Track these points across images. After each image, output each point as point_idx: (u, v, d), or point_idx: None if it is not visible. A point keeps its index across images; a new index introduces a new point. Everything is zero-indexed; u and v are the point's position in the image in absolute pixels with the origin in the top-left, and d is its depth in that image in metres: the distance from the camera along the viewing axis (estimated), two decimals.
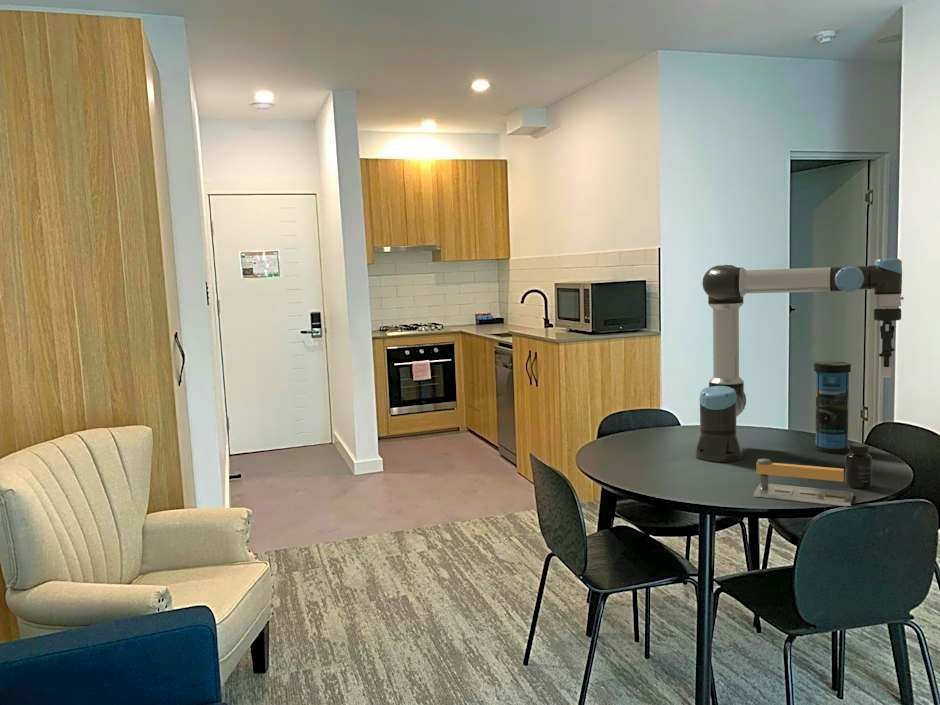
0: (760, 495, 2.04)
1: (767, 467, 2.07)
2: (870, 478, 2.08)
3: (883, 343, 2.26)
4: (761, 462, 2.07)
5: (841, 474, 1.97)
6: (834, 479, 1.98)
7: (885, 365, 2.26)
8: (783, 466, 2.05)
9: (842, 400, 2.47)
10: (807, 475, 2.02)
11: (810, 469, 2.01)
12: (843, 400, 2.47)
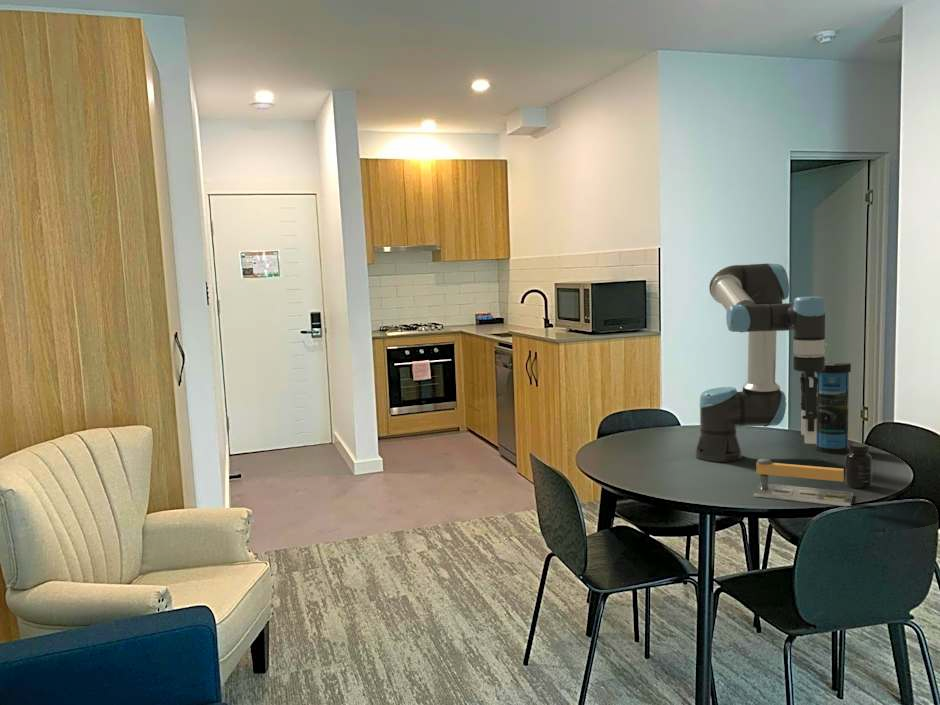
0: (760, 495, 2.04)
1: (767, 467, 2.07)
2: (870, 478, 2.08)
3: (807, 403, 1.87)
4: (761, 462, 2.07)
5: (841, 474, 1.97)
6: (834, 479, 1.98)
7: (810, 429, 1.88)
8: (783, 466, 2.05)
9: (842, 400, 2.47)
10: (807, 475, 2.02)
11: (810, 469, 2.01)
12: (843, 400, 2.47)
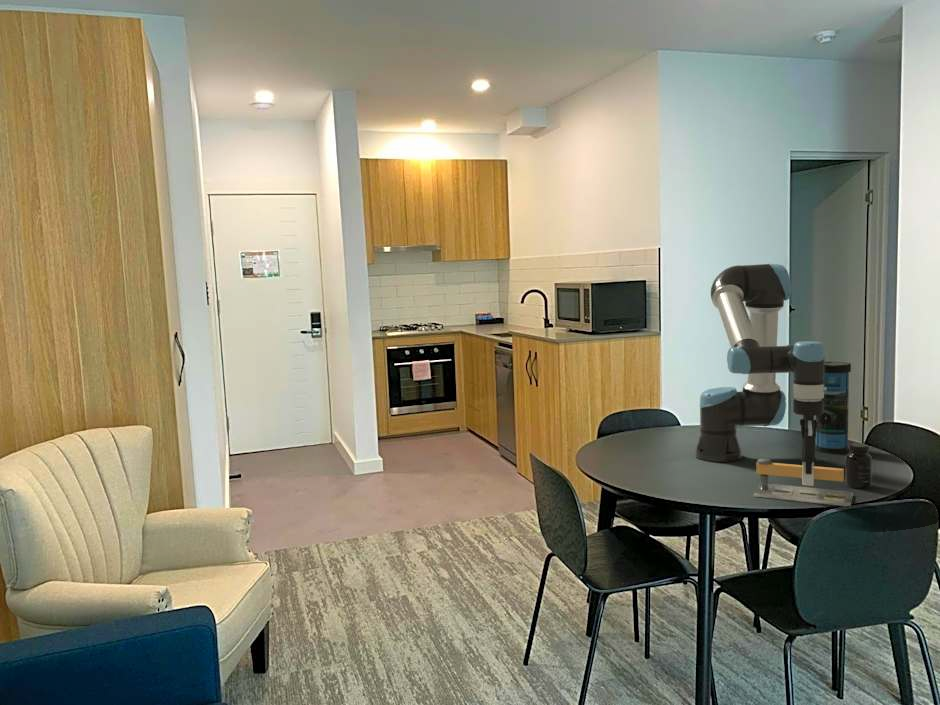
0: (760, 495, 2.04)
1: (767, 467, 2.07)
2: (870, 478, 2.08)
3: (806, 450, 1.95)
4: (761, 462, 2.07)
5: (841, 474, 1.97)
6: (834, 479, 1.98)
7: (807, 472, 1.98)
8: (783, 466, 2.05)
9: (842, 400, 2.47)
10: None
11: None
12: (843, 400, 2.47)
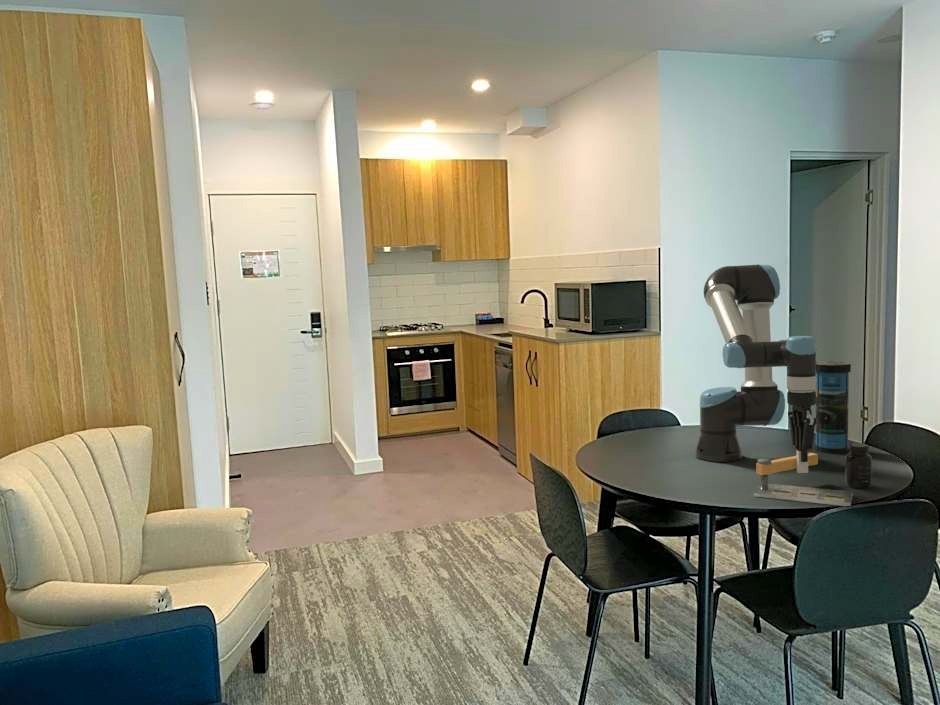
0: (760, 495, 2.04)
1: (770, 466, 2.08)
2: (870, 478, 2.08)
3: (805, 439, 2.05)
4: (767, 462, 2.06)
5: (816, 457, 2.15)
6: (812, 463, 2.15)
7: (804, 460, 2.08)
8: (780, 462, 2.09)
9: (842, 400, 2.47)
10: (796, 465, 2.12)
11: None
12: (843, 400, 2.47)
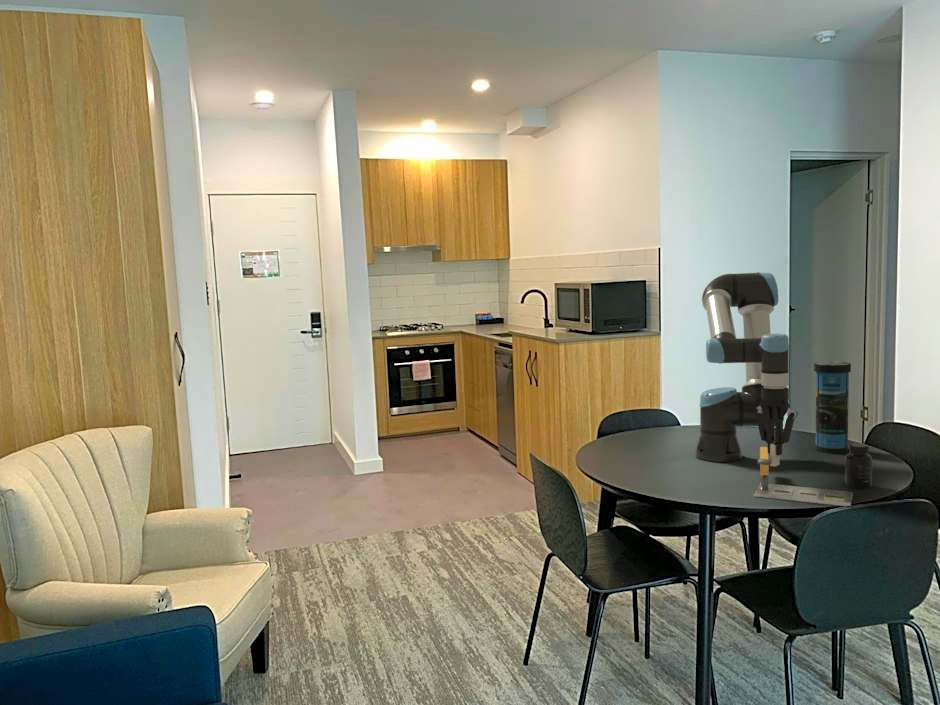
0: (760, 495, 2.04)
1: None
2: (870, 478, 2.08)
3: (787, 432, 2.13)
4: (770, 462, 2.07)
5: None
6: None
7: (780, 453, 2.16)
8: None
9: (842, 400, 2.47)
10: None
11: None
12: (843, 400, 2.47)
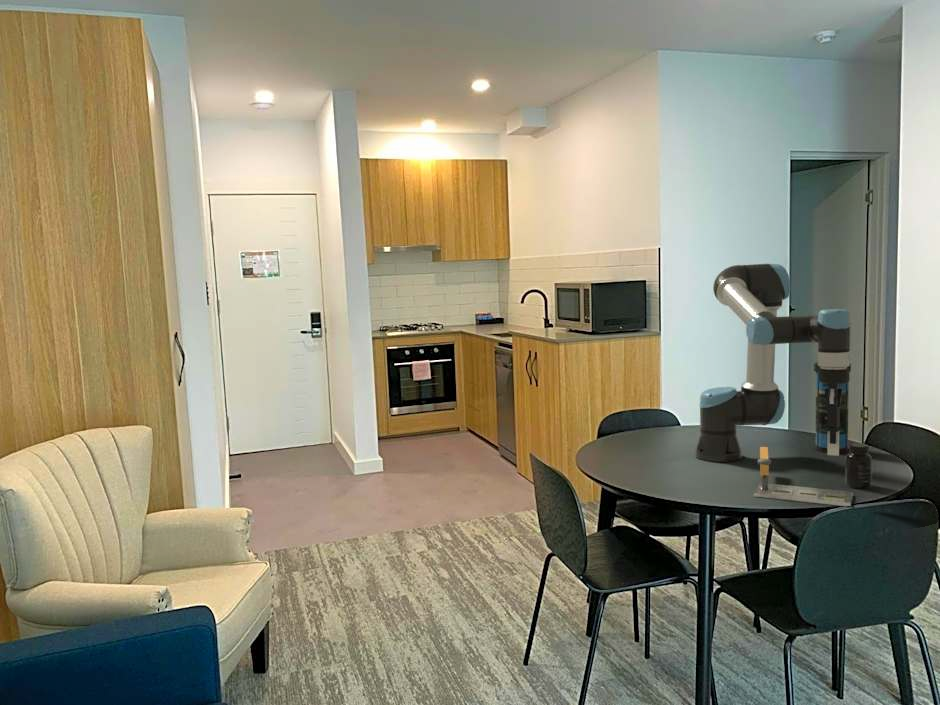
0: (760, 495, 2.04)
1: None
2: (870, 478, 2.08)
3: (828, 418, 1.93)
4: (770, 462, 2.07)
5: None
6: None
7: (831, 441, 1.96)
8: None
9: (842, 400, 2.47)
10: None
11: None
12: (843, 400, 2.47)
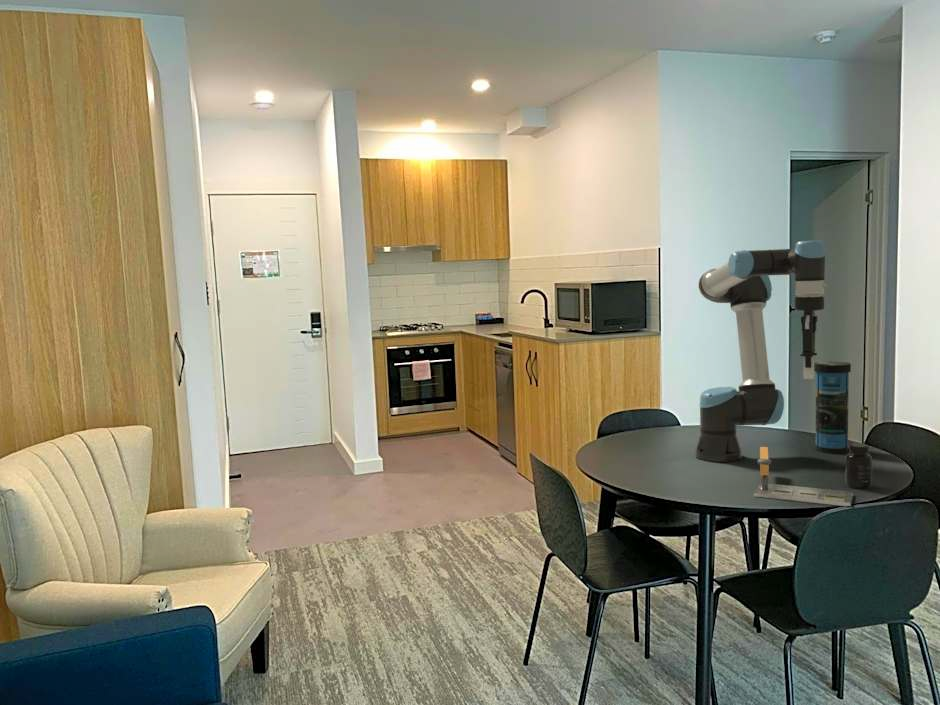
0: (760, 495, 2.04)
1: None
2: (870, 478, 2.08)
3: (804, 343, 2.05)
4: (770, 462, 2.07)
5: None
6: None
7: (807, 366, 2.08)
8: None
9: (842, 400, 2.47)
10: None
11: None
12: (843, 400, 2.47)
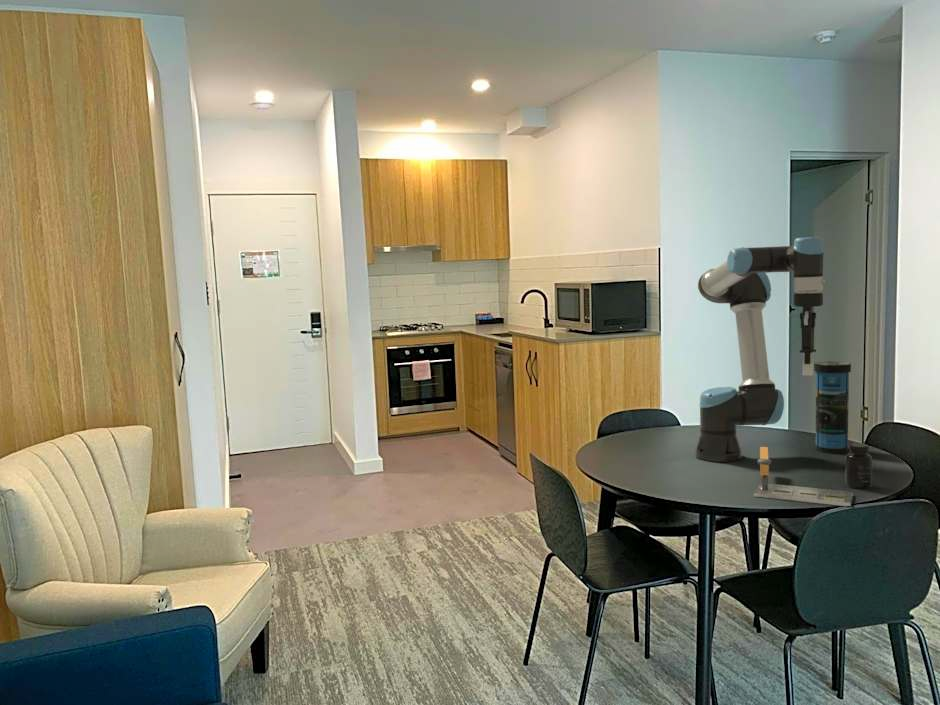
0: (760, 495, 2.04)
1: None
2: (870, 478, 2.08)
3: (802, 339, 2.06)
4: (770, 462, 2.07)
5: None
6: None
7: (806, 362, 2.08)
8: None
9: (842, 400, 2.47)
10: None
11: None
12: (843, 400, 2.47)
